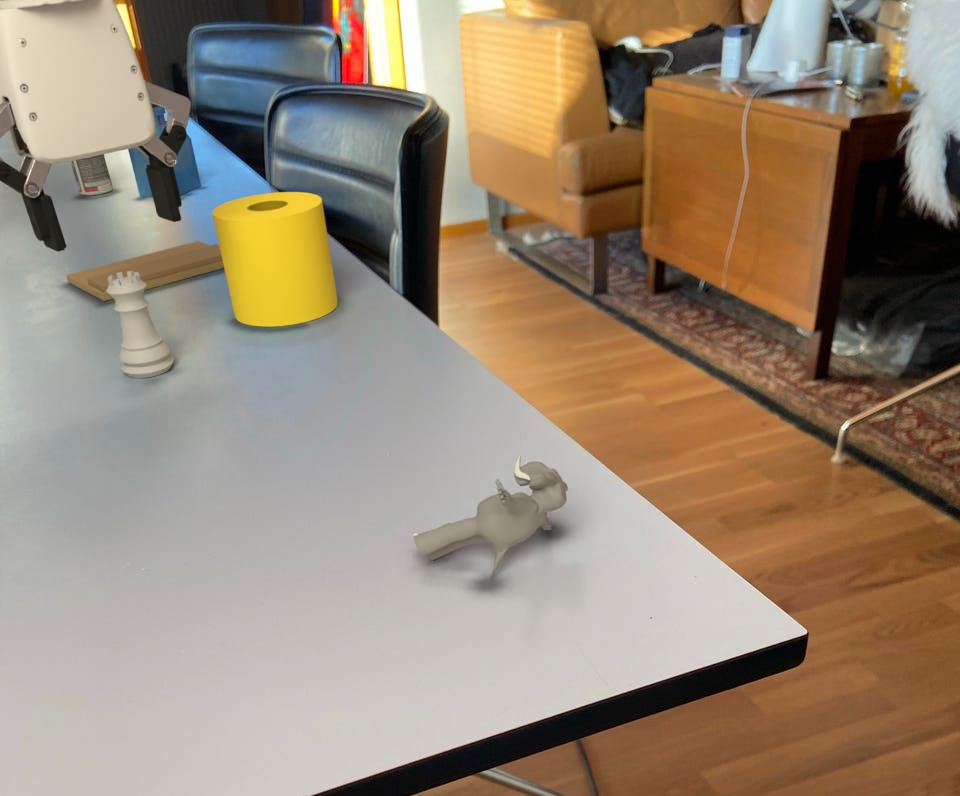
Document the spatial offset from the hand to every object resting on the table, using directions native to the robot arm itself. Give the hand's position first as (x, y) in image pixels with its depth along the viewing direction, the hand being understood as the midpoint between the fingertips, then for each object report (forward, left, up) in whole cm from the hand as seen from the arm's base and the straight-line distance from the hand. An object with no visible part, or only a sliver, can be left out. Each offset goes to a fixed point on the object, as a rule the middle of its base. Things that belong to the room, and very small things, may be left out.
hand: (114, 233), depth 81 cm
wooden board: (+13, +27, -11) cm, 32 cm away
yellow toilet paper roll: (+16, +5, -12) cm, 21 cm away
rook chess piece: (0, 0, -12) cm, 12 cm away
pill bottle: (+25, +73, -12) cm, 78 cm away
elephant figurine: (+1, -46, -12) cm, 47 cm away
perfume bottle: (+32, +63, -12) cm, 72 cm away
